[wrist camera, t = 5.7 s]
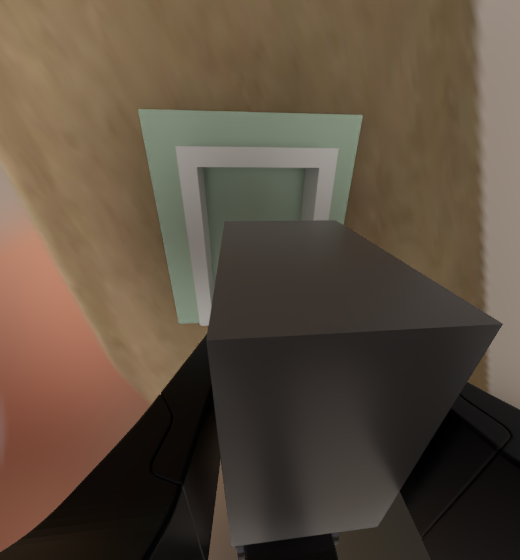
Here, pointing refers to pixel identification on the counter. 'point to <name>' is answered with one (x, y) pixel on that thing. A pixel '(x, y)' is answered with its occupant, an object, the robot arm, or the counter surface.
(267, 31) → the counter surface
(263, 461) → the chute block
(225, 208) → the deck plate
